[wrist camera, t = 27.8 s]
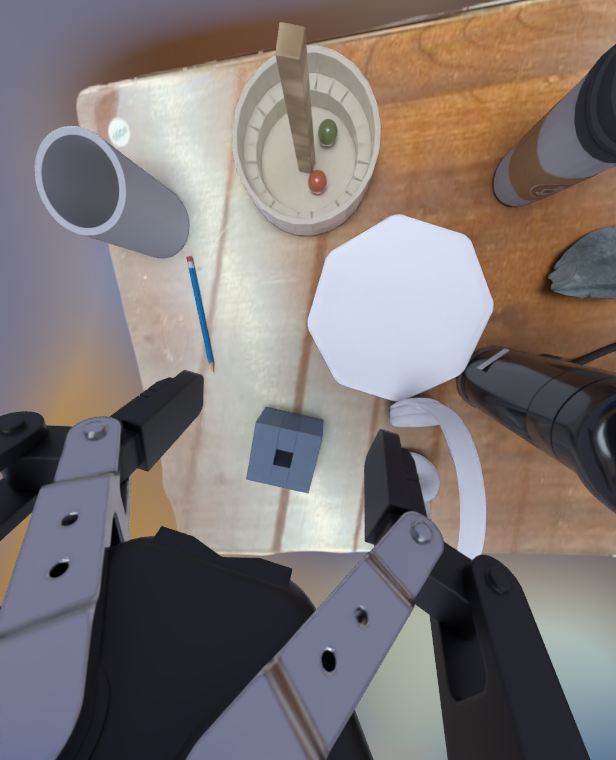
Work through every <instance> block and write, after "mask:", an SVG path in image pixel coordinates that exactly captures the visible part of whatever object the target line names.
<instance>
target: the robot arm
mask: <svg viewBox="0 0 616 760" xmlns="http://www.w3.org/2000/svg"><path fill="white" fill-rule="evenodd" d="M614 351H616V343H615V344H612V345H609V346H607V347H604V348H602V349H600V350H597V351H595V352H593V353H590V354H588V355H586V356H584V357H582V358H579V359H577V360H575V361H574V362H573V363H572V362H567V361H562V357H558V356H553V355H548V354H539V355H534V354H530V353H525V352H518V351H514V350H511V349H508V348H503V347H488V348H484V349H481V350H479V351H477V352H475V353H474V354H472V356H471V358H470V360H469V362H468V364H467V366H466V368H465V370H464V371H463V372H462V373H461V374H460V375H459V376H457V388H458V391H459V393H460V395H461V397H462V398H463V399H464V400H465V401H466V402H467V403H469V404H470V405H472V406H473V407H475V408H478V409H479V410H481V411H482V412H483V413H485V414H487V415H488V416H490V417H491V418H493V419H494V420H496V421H497V422H499V423H500V424H502V425H503V426H505V427H506V428H508V429H509V430H511V431H513V432H514V433H516V434H517V435H519V436H520V437H522V438H523V439H525V440H526V441H528V442H529V443H531V444H532V445H534V446H535V447H537V448H538V449H540V450H542V451H543V452H545V453H546V454H548V455H549V456H551V457H552V458H554V459H556V460H557V461H559V462H560V463H562V464H563V465H565V466H566V467H568V468H569V469H571V470H572V471H574V472H575V473H576V474H577V475H578V477H579V478H580V480H581V481H582V483H583V484H584V485H585V487H586V488H587V489H588V490H589V491H590V493H591V494H592V495H593V496H594V497H596V498H597V499H598V500H599V501H600V502H601V503H603V504H604V505H605V506H606V507H608V508H609V509H610V510H612V511H613V512H614V513H616V372H611V371H607V370H602V369H597V368H592V367H587V366H583V365H584V364H586V363H588V362H590V361H592V360H595V359H597V358H599V357H601V356H604V355H606V354H608V353H611V352H614ZM203 388H204V378H203V376H202V375H201V374H197V373H194V372H190V371H187V370H184V371H182V372H181V373H179V374H178V375H177V376H176V377H174V378H170V377H169V378H166V379H164V380H161V381H158V382H156V383H155V384H154V385H152V386H151V387H149V388H148V390H145V391H144V392H143V393H141V394H140V396H137V397H136V398H135V399H133V400H132V401H131V402H129V403H128V404H126V405H125V406H124V407H122V408H121V409H119V410H118V411H117V412H115V413H114V414H113V415H111V416H110V417H93V418H89V419H86V420H83V421H81V422H79V423H77V424H76V425H74V426H73V427H69V426H47V425H46V424H45V421H44V418H43V417H42V416H41V415H40V414H38V413H35V412H27V411H26V412H15V413H10V414H6V415H3V416H0V472H1V474H2V475H3V477H4V478H3V479H1V480H0V541H1V540H2V539H3V538H4V537H5V536H6V535H7V534H8V533H10V532H11V531H12V530H13V529H14V528H15V527H16V526H17V525H18V524H19V523H21V522H22V521H23V520H24V519H25V518H26V517H27V516H28V515H29V514H30V513H31V512H32V515H31V518H30V521H29V524H28V527H27V530H26V533H25V536H24V539H23V542H22V545H21V548H20V551H19V554H18V557H17V560H16V563H15V567H14V570H13V573H12V576H11V579H10V582H9V585H8V588H7V591H6V594H5V597H4V600H3V603H2V606H0V760H373V757H372V754H371V752H370V749H369V746H368V744H367V741H366V738H365V736H364V733H363V730H362V728H361V725H360V722H359V720H358V717H357V714H356V712H355V708H356V706H357V704H358V703H359V701H360V699H361V698H362V696H363V694H364V692H365V691H366V689H367V687H368V686H369V684H370V682H371V681H372V679H373V677H374V675H375V674H376V672H377V670H378V669H379V667H380V665H381V663H382V662H383V660H384V658H385V657H386V655H387V653H388V651H389V650H390V648H391V646H392V645H393V643H394V641H395V640H396V638H397V636H398V634H399V633H400V631H401V629H402V628H403V626H404V624H405V623H406V621H407V619H408V617H409V616H410V614H411V612H412V610H413V608H414V605H415V604H416V605H417V606H418V607H420V608H421V609H422V610H424V611H425V612H427V613H428V614H429V615H430V622H431V630H432V637H433V645H434V654H435V662H436V669H437V677H438V685H439V693H440V701H441V709H442V717H443V724H444V733H445V741H446V748H447V756H448V760H590V758H589V755H588V753H587V750H586V748H585V745H584V743H583V740H582V738H581V735H580V732H579V730H578V727H577V725H576V723H575V720H574V717H573V715H572V713H571V710H570V708H569V705H568V702H567V700H566V697H565V695H564V692H563V690H562V688H561V685H560V682H559V680H558V677H557V675H556V672H555V670H554V667H553V665H552V662H551V660H550V657H549V655H548V652H547V650H546V647H545V645H544V642H543V640H542V637H541V635H540V632H539V630H538V627H537V624H536V622H535V620H534V617H533V614H532V612H531V609H530V607H529V604H528V602H527V599H526V597H525V594H524V592H523V590H522V587H521V586H520V584H519V582H518V581H517V579H516V578H515V576H514V575H513V574H512V573H511V572H510V570H509V569H508V568H507V567H505V566H504V565H503V564H502V563H501V562H499V561H498V560H496V559H494V558H493V557H490V556H487V555H478V556H476V557H475V558H474V559H473V560H472V559H470V558H468V557H467V556H465V555H464V554H462V553H460V552H459V551H457V550H456V549H454V548H452V547H451V546H449V545H448V544H447V543H445V542H444V540H443V537H442V534H441V533H440V531H439V529H438V528H437V526H436V525H435V524H434V523H433V522H432V521H431V520H430V519H429V518H428V517H427V513H426V508H425V504H424V499H423V495H422V490H421V486H420V482H419V477H418V473H417V468H416V463H415V460H414V458H413V457H412V455H411V454H410V452H409V451H408V449H404V448H401V443H400V438H399V435H398V434H396V433H393V432H389V431H386V430H383V429H380V430H379V431H378V433H377V435H376V437H375V439H374V441H373V443H372V445H371V448H370V450H369V452H368V454H367V456H366V460H365V466H364V484H365V542H368V543H371V544H374V548H373V549H372V550H371V551H370V552H368V553H367V554H366V555H365V556H364V557H363V558H362V559H361V560H360V561H359V562H358V564H357V565H356V566H355V567H354V568H353V569H352V570H351V572H350V573H349V574H348V575H347V576H346V577H345V578H344V579H343V580H342V581H341V583H340V584H339V585H338V586H337V587H336V588H335V589H334V590H333V592H332V593H331V594H330V595H329V596H328V597H327V598H326V600H325V601H324V602H323V603H322V604H321V605H320V606H319V607H318V608H317V610H316V608H315V606H314V605H313V603H312V602H311V600H310V599H309V598H308V596H307V595H306V594H305V592H304V591H303V590H302V589H301V588H300V587H299V586H298V585H297V584H296V583H294V582H293V581H291V580H290V577H291V573H292V568H289V567H285V566H282V565H279V564H276V563H273V562H270V561H267V560H264V559H261V558H235V557H234V558H233V557H222V556H220V555H218V554H217V553H216V552H214V551H213V550H211V549H210V548H209V547H207V546H206V545H204V544H203V543H202V542H200V541H199V540H198V539H196V538H195V537H193V536H190V535H187V534H184V533H181V532H178V531H175V530H172V529H169V528H166V527H163V526H162V527H161V528H160V529H159V531H158V532H157V534H156V535H155V536H150V537H141V538H137V539H132V540H130V529H129V516H130V494H131V493H130V492H131V474H132V473H133V472H134V471H135V470H136V469H137V468H138V469H141V470H144V471H149V470H150V469H151V468H152V467H153V466H154V464H155V463H156V462H157V461H158V460H159V459H160V458H161V457H162V456H163V454H164V453H165V452H166V451H167V450H168V449H169V448H170V447H171V445H172V444H173V443H174V442H175V441H176V440H177V439H178V438H179V437H180V435H181V434H182V433H183V432H184V431H185V430H186V429H187V428H188V426H189V425H190V424H191V423H192V422H193V421H194V420H195V419H196V417H197V416H198V415H199V413H200V412H201V409H202V406H203Z"/></svg>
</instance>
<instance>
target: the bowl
mask: <svg viewBox="0 0 616 760" xmlns="http://www.w3.org/2000/svg"><path fill="white" fill-rule="evenodd" d="M306 46H307V59H308V71H309V84H310V97H311V109H312V122H313V134H314V147H315V164H314V169H313V171H314V170H321V171H323V172H324V173H325V175H326V177H327V186H326V188H325V190H324V191H323V192H322V193H319V194H315V193H313V192H312V191H311V190H310V189H309V186H308V178H309V175H310V174H309V173H304V172H300V171H299V168H298V163H297V158H296V154H295V149H294V144H293V139H292V134H291V129H290V124H289V119H288V114H287V109H286V104H285V99H284V95H283V90H282V85H281V80H280V75H279V70H278V65H277V60H276V55H273V56H272V57H271V58H270V59H268V60H267V61H266V62H264V63H263V64H262V65H260V66H259V67H258V69H257V70H256V71H255V73H254V74H253V75H252V77H251V78H250V79H249V81H248V82H247V83H246V86H245V87H244V89H243V91H242V94H241V96H240V98H239V101H238V103H237V105H236V109H235V114H234V120H233V125H232V152H233V157H234V161H235V165H236V168H237V172H238V175H239V177H240V179H241V181H242V183H243V185H244V187H245V189H246V191H247V193H248V194H249V196H250V197H251V199H252V200H253V202H254V203H255V205H256V206H257V208H258V209H259V210H260V211H261V212H262V214H263V215H264V216H265V217H266V218H267V219H268V220H269V221H270V222H271V223H273V224H274V225H276V226H277V227H279V228H280V229H282V230H284V231H286V232H290V233H293V234H296V235H317V234H321V233H325V232H328V231H331V230H332V229H334V228H336V227H337V226H339V225H340V224H342V223H344V222H345V221H346V220H347V219H348V218H349V217H350V216H351V215H352V214H353V213H354V211H355V210H356V209H357V208H358V206H359V204H360V202H361V201H362V199H363V197H364V196H365V194H366V191H367V188H368V185H369V182H370V179H371V176H372V173H373V170H374V167H375V164H376V160H377V157H378V154H379V146H380V134H381V126H380V119H379V111H378V105H377V102H376V100H375V97H374V95H373V92H372V90H371V87H370V85H369V83H368V81H367V80H366V78H365V77H364V76H363V74H362V73H361V72H360V70H359V69H358V68H357V66H356V65H355V64H354V63H352V62H351V61H350V60H348V59H347V58H346V57H344V56H343V55H342V54H340V53H339V52H337V51H335V50H332V49H329V48H326V47H322V46H319V45H318V46H317V45H306ZM325 119H332V120H333V121H334V122H335V123H336V125H337V128H338V136H337V139H336V141H335V142H334V143H333V144H332V145H331V146H324V145H323V144H321V142H320V141H319V138H318V128H319V125H320V124H321V122H322V121H323V120H325Z"/></svg>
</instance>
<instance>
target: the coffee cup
mask: <svg viewBox="0 0 616 760" xmlns="http://www.w3.org/2000/svg"><path fill="white" fill-rule="evenodd" d="M614 166H616V44H615V45H614V46H613V47H612V48H610V49H609V50H608V51H607V52H606V53H605V54H603V55H602V56H601V57H600V59H599V60H598V61H597V62H596V64H595V65H594V66H593V67H592V69H591V70H590V71H589V73H588V74H587V75H586V76H585V77H584V78H583V79H582V80H581V81H580V82H579V83H578V84H577V85H576V86H575V87H574V88H573V89H572V90H571V91H570V92H569V93H568V94H567V95H566V96H565V97H564V98H562V99H561V100H560V101H559V102H558V103H557V104H556V105H555V106H554V107H553V108H552V109H551V110H550V111H549V112H548V113H547V114H546V115H545V116H544V117H543V118H542V119H541V120H540V121H539V122H538V123H537V124H536V125H535V126H534V127H533V128H532V129H531V130H530V131H529V132H528V133H527V134H526V135H525V136H524V137H523V138H522V139H521V140H520V142H519V143H518V144H517V145H516V146H515V147H514V148H513V149H512V150H511V151H510V152H509V153H508V154H507V155H506V156H505V157H504V159H503V160H502V161H501V162H500V164H499V166H498V168H497V170H496V174H495V178H494V191H495V194H496V196H497V198H498V199H499V200H500V201H501V202H502V203H504V204H507V205H510V206H522V205H526V204H528V203H530V202H533V201H535V200H538V199H542V198H544V197H546V196H549V195H551V194H553V193H556V192H558V191H560V190H563V189H565V188H567V187H570V186H572V185H574V184H577V183H579V182H581V181H584V180H586V179H588V178H591V177H593V176H595V175H597V174H598V173H600V172H602V171H604V170H607V169H609V168H611V167H614Z"/></svg>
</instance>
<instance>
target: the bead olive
mask: <svg viewBox="0 0 616 760" xmlns="http://www.w3.org/2000/svg"><path fill="white" fill-rule="evenodd" d="M337 136H338V128H337V125H336V123H335V122H334V121H333V120H332V119H325V120H323V121H322V122H321V124H320V125H319V128H318V138H319V141H320V142H321V144H323V145H324V146H331V145H332V144H333V143H334V142H335V141H336V139H337Z"/></svg>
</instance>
